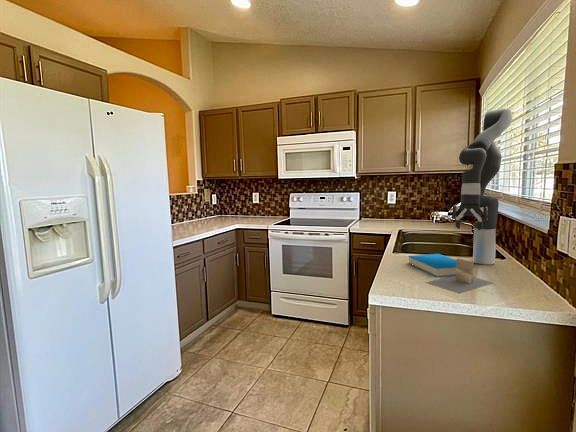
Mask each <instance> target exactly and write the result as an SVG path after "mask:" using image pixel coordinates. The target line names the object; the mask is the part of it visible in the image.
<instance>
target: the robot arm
mask: <svg viewBox="0 0 576 432" xmlns="http://www.w3.org/2000/svg"><path fill="white" fill-rule="evenodd" d="M513 119H514V118H513V112H512V110H511V109H510V108H500V109H493V110H489V111H487V112H485V115H484V118H483V125H482V132H480V133H479V134H477V136H476V137H475V139H474V140H472V141H473V142H471V143H469V144H468V145H467V146H465V147H464V148H463V149H462V150H461V152H460V153H459V155H458V156H459V157H458V160H459V162H460V164H461V165H465V166H468V165H469V166H470V165H471V166H472V165H473V167H472V168H470V169H467V170H463V172H462V181H461V183H462V184H461V189H460V190H461V191H460V205H459V206H457V205H453V206H452V211H451V219H453V220H455V227H456V229H458V230H459V229H461V219H462V218H463V217H469V216H470V217H475V219H477V220H476V221H475V222H474V223H473V242H472V243H473V251H472V261H474V263H475V264H478V265H494V264H495V262H496V255H497V254H496V251H497V250H496V249H497V244H496V238H497V237H496V235H497V234H496V233H497V231H496V230H497V224H498V214H499V205H500V203H499V198H498V197H497V196H496V195H489V194H488V195H486V194H485V191H486V189H487V187H488V185H489V183H490V182H491V181H492V180H493V179H494V178H495V176H496V175H497V174H498V172H499V171H500V168H501V165H502V164H501V163H502V153H501V152H502V151H500V148H499V147H498V145H497V144H496V142H495V140H496V139H498V137H499V136H500V135H501V134H503V132H505V131H506V130H507V129H508V128H509V127H510V126H511V125H512V122H513ZM484 194H485V195H484ZM459 210H460V213H459V214H458V216H457V212H458V211H459ZM481 215H483V217H482V216H481Z"/></svg>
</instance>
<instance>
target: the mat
mask: <svg viewBox="0 0 576 432" xmlns="http://www.w3.org/2000/svg"><path fill="white" fill-rule="evenodd" d="M425 284H428V285H431V286H433V287H434V286H435V287H438V288H441V289H444V290H447V291H450V292H453V293H457V294H458V295H459V294H463V293H465V292H466V293H467V292H469V291H472V290H476V289H478V288H482V287H485V286H489V285H492V284H495V282H494V281H490V280H485V279H482V278H479V277H474V276H473V283H471V284H469V283H465V282H462V281H458V280H456V275H453V276H444V277H440V278H437V279H434V280H429V281H427V282H425Z"/></svg>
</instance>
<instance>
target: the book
mask: <svg viewBox="0 0 576 432" xmlns="http://www.w3.org/2000/svg"><path fill="white" fill-rule="evenodd" d="M456 261H457V259H455V258H452V257H450V256H446V255H443V254H440V253H432V254H431V253H430V254H420V255H419V254H417V255H408V265H411V266H413V267H415V268H416V269H419V270H421V271H424V272H426V273H427V274H429V275H432V276H434V277H435V278H437V277H439V278H441V277H448V276H453V275H456ZM412 264H413V265H412Z"/></svg>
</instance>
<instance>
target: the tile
mask: <svg viewBox="0 0 576 432" xmlns="http://www.w3.org/2000/svg"><path fill="white" fill-rule="evenodd" d="M456 260H457V261H456V280H458V281H462V282H465V283H469V284H471V283H473V277H474V263H475V262H474V261H473V260H471V259H467V258H466V259H465V258H461V257H458V258H456Z"/></svg>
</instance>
